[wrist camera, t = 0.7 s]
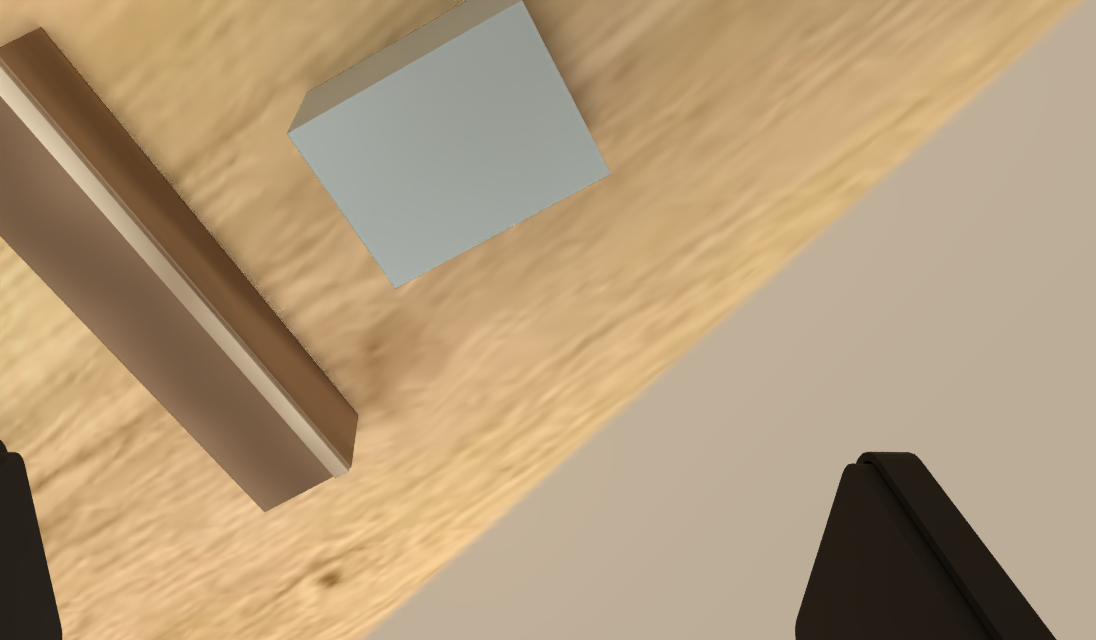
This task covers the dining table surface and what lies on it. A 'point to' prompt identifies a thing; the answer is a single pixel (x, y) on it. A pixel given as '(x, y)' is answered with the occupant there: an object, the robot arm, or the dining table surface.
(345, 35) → the dining table surface
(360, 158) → the block
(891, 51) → the dining table surface
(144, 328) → the board
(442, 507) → the dining table surface
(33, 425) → the dining table surface
